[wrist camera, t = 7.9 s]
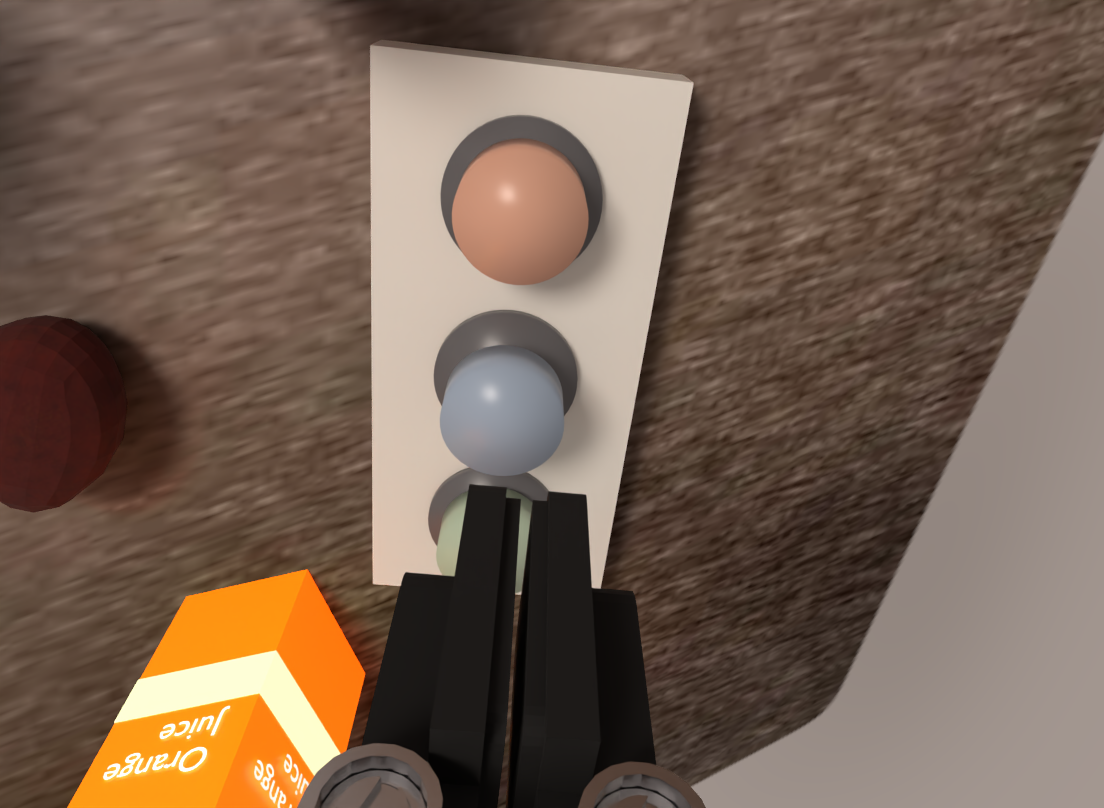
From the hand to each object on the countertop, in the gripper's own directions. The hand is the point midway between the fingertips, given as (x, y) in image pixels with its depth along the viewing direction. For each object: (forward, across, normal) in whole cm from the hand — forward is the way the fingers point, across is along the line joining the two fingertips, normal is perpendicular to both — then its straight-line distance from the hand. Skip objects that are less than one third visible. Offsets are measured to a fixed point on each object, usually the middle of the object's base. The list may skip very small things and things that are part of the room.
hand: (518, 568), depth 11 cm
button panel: (+25, +1, +9) cm, 26 cm away
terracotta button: (+22, +1, +1) cm, 22 cm away
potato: (+25, +22, +13) cm, 35 cm away
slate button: (+20, +1, +9) cm, 22 cm away
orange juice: (+24, +13, +29) cm, 40 cm away
